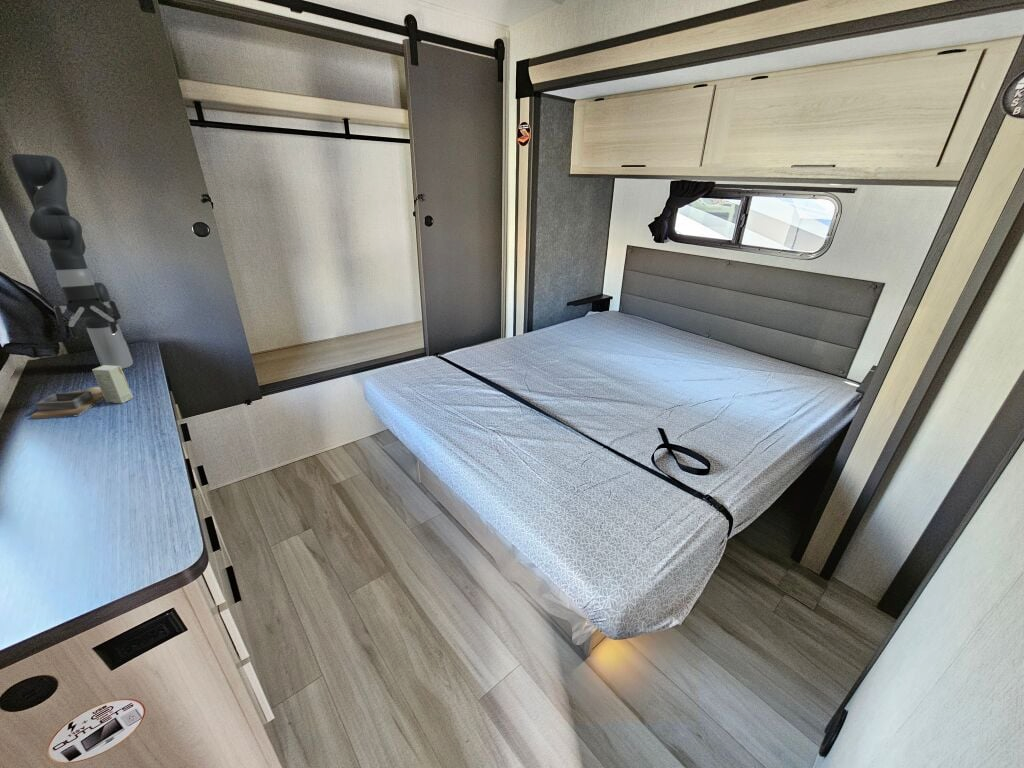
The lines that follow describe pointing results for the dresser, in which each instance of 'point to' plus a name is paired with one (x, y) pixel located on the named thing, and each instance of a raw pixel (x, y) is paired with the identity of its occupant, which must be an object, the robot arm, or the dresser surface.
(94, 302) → the robot arm
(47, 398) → the carrier plate
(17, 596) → the dresser surface
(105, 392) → the skincare box
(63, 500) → the dresser surface
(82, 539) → the dresser surface
